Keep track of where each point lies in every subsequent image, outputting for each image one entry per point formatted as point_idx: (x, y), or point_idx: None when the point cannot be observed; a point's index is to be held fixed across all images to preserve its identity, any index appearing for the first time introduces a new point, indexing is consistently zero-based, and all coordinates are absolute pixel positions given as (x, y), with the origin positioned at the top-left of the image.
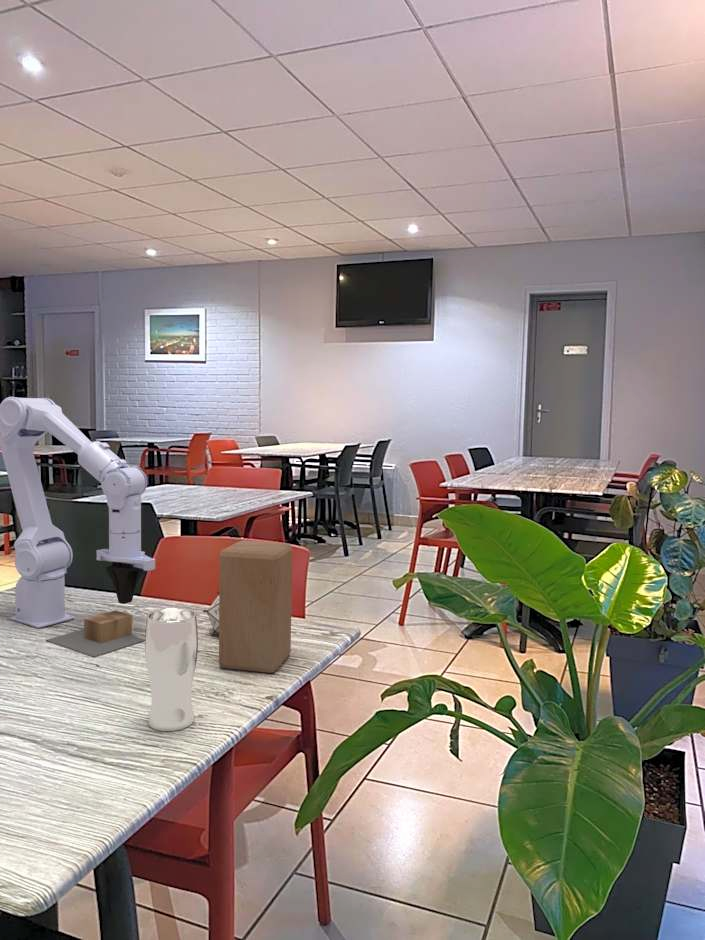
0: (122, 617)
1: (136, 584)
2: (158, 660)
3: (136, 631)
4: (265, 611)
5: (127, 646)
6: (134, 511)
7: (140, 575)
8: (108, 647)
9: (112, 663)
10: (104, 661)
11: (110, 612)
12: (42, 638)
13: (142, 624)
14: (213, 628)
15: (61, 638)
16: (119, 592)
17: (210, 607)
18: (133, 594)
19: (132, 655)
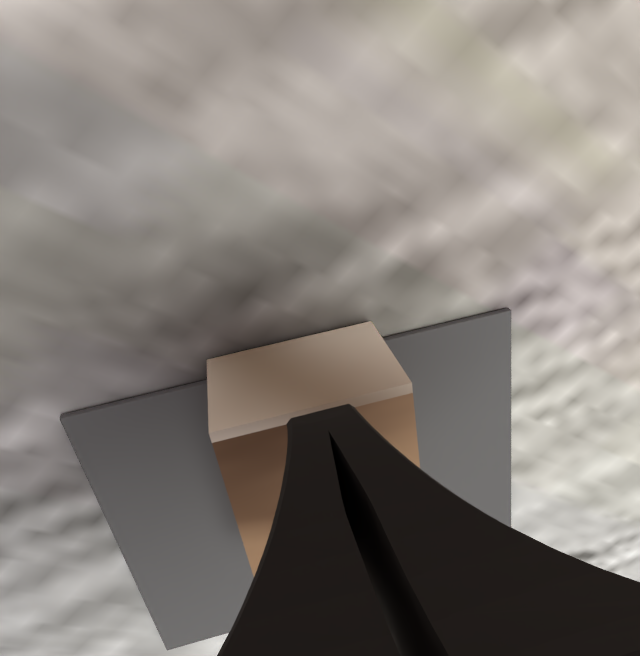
0: (412, 456)
1: (439, 484)
2: None
3: (324, 274)
4: None
5: (507, 412)
6: None
7: (561, 553)
8: (466, 486)
9: (610, 515)
10: (570, 530)
11: (241, 478)
12: (117, 649)
13: (206, 168)
14: None
15: (194, 603)
16: (372, 584)
17: None
18: (380, 434)
19: (610, 433)
